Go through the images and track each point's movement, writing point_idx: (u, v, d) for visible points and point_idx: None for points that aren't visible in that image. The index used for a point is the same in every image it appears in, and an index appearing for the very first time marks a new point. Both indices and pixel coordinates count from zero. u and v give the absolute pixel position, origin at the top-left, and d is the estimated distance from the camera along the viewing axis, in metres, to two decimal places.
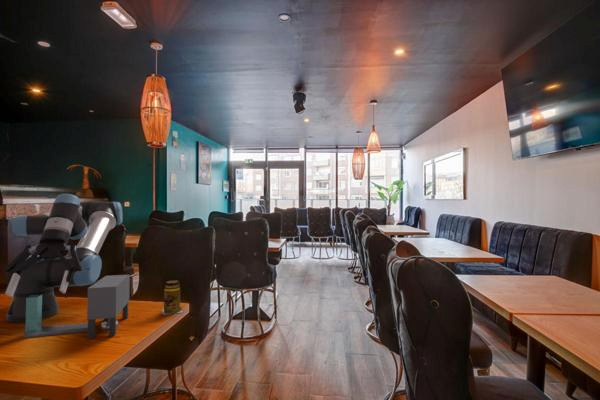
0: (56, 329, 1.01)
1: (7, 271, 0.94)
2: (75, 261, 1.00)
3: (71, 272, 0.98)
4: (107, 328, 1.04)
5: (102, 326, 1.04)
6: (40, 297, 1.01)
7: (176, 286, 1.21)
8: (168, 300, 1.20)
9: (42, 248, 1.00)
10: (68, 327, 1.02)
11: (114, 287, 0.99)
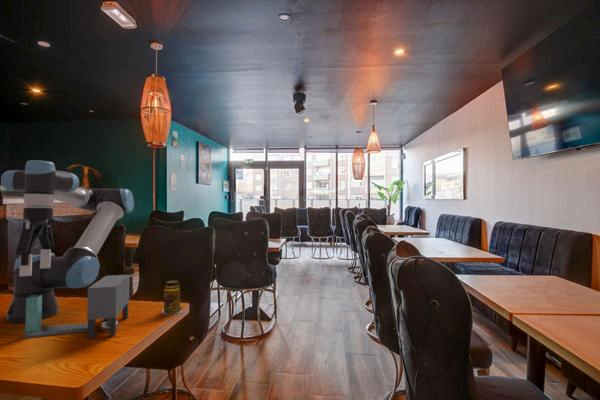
0: (57, 329, 1.01)
1: None
2: None
3: None
4: (107, 328, 1.04)
5: (102, 326, 1.04)
6: (40, 297, 1.01)
7: (176, 286, 1.21)
8: (168, 300, 1.20)
9: None
10: (68, 327, 1.02)
11: (114, 287, 0.99)
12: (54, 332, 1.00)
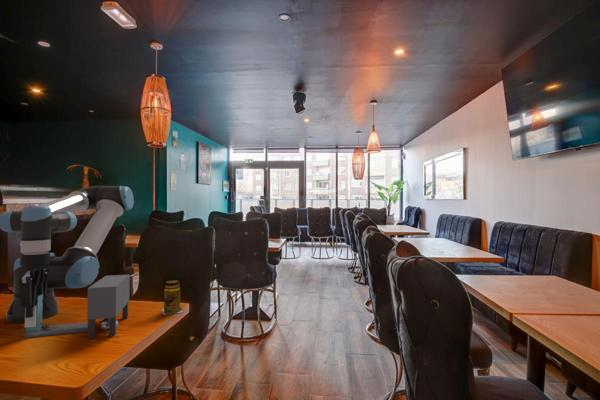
0: (57, 328, 1.01)
1: None
2: None
3: None
4: (107, 328, 1.04)
5: (102, 326, 1.04)
6: (40, 297, 1.01)
7: (176, 286, 1.21)
8: (168, 300, 1.20)
9: None
10: (69, 327, 1.02)
11: (114, 287, 0.99)
12: (54, 332, 1.00)
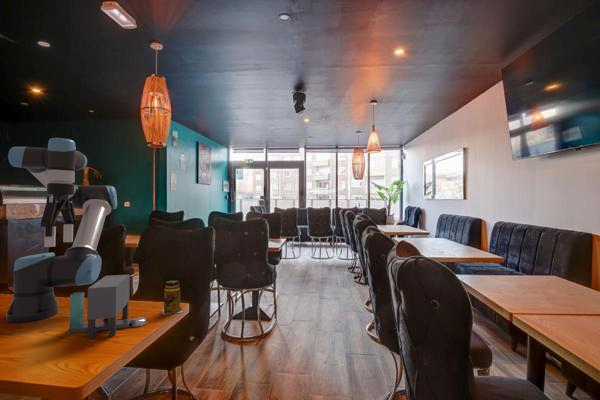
0: (98, 325, 1.04)
1: None
2: None
3: None
4: (137, 325, 1.07)
5: (132, 323, 1.07)
6: (82, 294, 1.05)
7: (176, 286, 1.21)
8: (168, 300, 1.20)
9: None
10: None
11: (114, 287, 0.99)
12: (96, 328, 1.03)
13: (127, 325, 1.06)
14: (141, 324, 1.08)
